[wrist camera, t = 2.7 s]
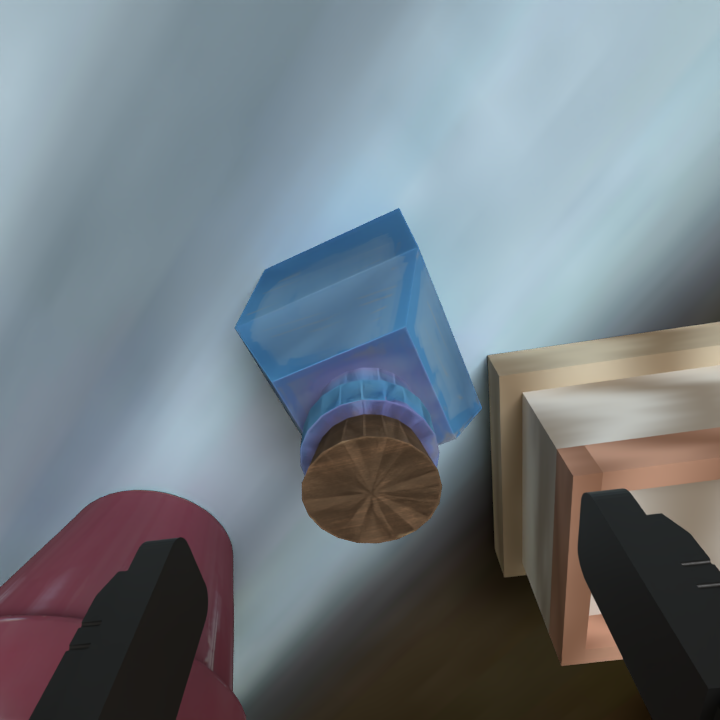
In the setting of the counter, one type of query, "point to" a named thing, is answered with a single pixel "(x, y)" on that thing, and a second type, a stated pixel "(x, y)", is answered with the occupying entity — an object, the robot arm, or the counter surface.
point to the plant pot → (87, 578)
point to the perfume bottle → (362, 377)
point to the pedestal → (600, 458)
